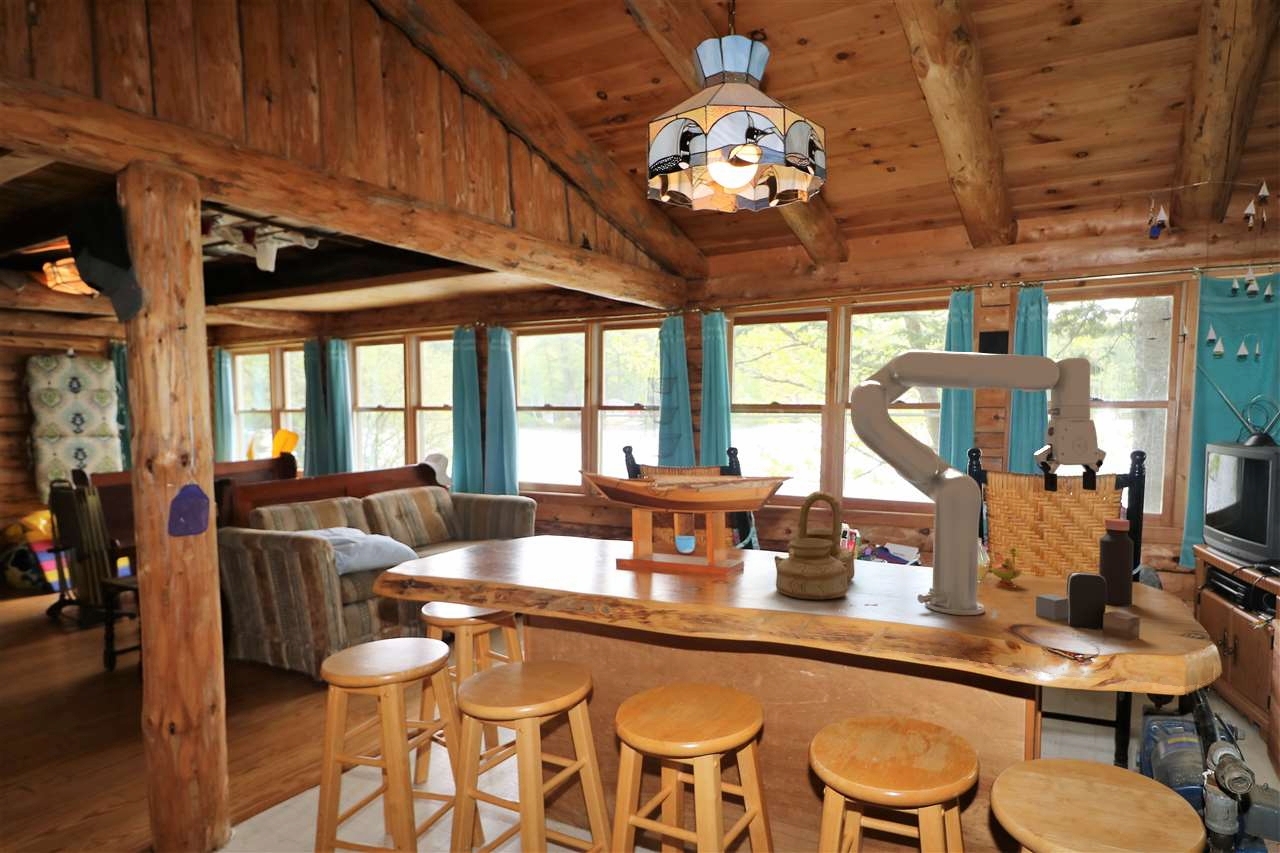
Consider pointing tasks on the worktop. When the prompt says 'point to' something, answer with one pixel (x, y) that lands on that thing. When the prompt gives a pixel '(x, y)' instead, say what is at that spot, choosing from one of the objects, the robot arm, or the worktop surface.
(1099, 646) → the worktop surface
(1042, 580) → the worktop surface
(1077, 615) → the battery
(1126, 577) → the bottle
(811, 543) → the ceramic vessel
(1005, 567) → the flower arrangement
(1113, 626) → the walnut block
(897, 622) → the worktop surface
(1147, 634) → the worktop surface
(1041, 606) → the grey block
